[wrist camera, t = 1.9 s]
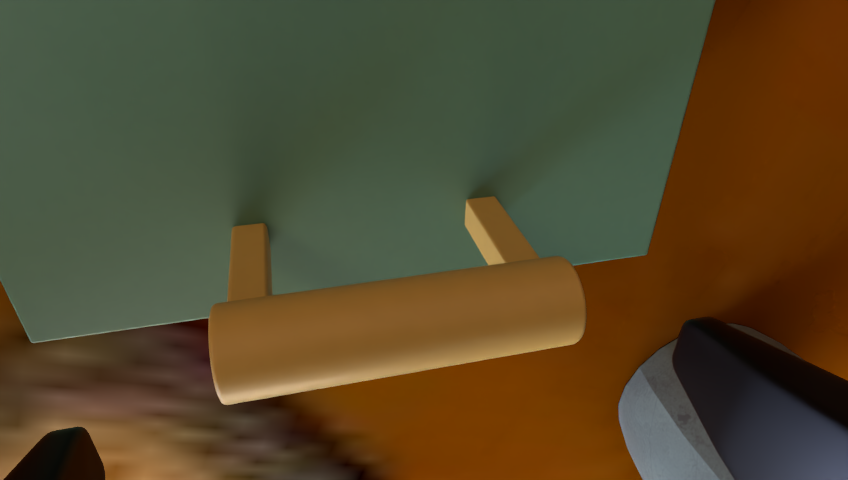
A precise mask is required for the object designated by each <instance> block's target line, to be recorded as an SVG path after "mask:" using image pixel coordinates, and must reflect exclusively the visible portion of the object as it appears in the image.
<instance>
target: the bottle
mask: <svg viewBox="0 0 848 480" xmlns="http://www.w3.org/2000/svg"><path fill="white" fill-rule="evenodd" d="M728 325H730V326H732V327H734V328H736V329H738V330H740V331H742V332H745V333H747V334H749V335H751V336H753V337H755V338H757V339H760V340H762V341H764V342H766V343H768V344H770V345H772V346H774V347H777V348H779V349H781V350H783V351H785V352H787V353H789V354H791V355H794V356H796V357H798V358H800V357H799V356H798V355H796V354H795V353H793V352H792V351H791V350H789V349H788V348H787V347H785V346H784V345H782V344H781V343H779V342H777V341H776V340H774V339H772V338H770V337H768V336H766V335H764V334H762V333H760V332H758V331H756V330H754V329H752V328H750V327H746V326H742V325H737V324H733V323H731V324H728ZM677 340H678V338H677V339H676V340H674V341H672V342H671V343H669V344H667V345H666V346H664V347H662V348H661V349H659V350H658V351H657V352H656V353H655V354H654V355H652V356H651V357H650V358H649V359H648V360H647V361H646V362H645V363H643V364H642V365H641V366H640V367H639V368H638V370H637V371H636V372H635V374H634V375H633V376H632V378H631V379H630V381H629V382H628V383H627V385H626V386H625V388H624V391H623V394H622V396H621V399H620V402H619V405H618V409H619V422H620V425H621V429H622V432H623V435H624V439H625V442H626V445H627V448H628V451H629V453H630V455H631V457H632V459H633V461H634V463H635V465H636V467H637V469H638V471H639V473H640V475H641V477H642V479H643V480H735V479H734V478H733V476H732V475H731V473H730V472H729V470H728V469H727V467H726V466H725V464H724V462H723V461H722V459H721V457H720V456H719V454H718V453H717V451H716V449H715V447H714V445H713V444H712V442H711V440H710V438H709V436H708V434H707V432H706V431H705V429H704V427H703V425H702V423H701V421H700V419H699V417H698V415H697V413H696V411H695V409H694V408H693V406H692V404H691V402H690V400H689V398H688V396H687V394H686V392H685V390H684V388H683V386H682V385H681V383H680V381H679V379H678V377H677V375H676V373H675V371H674V368H673V365H672V355H673V352H674V349H675V346H676V343H677ZM800 359H802V358H800ZM802 360H803V359H802ZM804 361H805V360H804Z"/></svg>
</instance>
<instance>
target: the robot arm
mask: <svg viewBox="0 0 848 480" xmlns="http://www.w3.org/2000/svg"><path fill="white" fill-rule="evenodd" d="M672 365H673V368H674V371H675V373H676V375H677V377H678V379H679V381H680V383H681V385H682V386H683V388H684V390H685V392H686V394H687V396H688V398H689V400H690V402H691V404H692V406H693V408H694V409H695V411H696V413H697V415H698V417H699V419H700V421H701V423H702V425H703V427H704V429H705V431H706V432H707V434H708V436H709V438H710V440H711V442H712V444H713V445H714V447H715V449H716V451H717V453H718V454H719V456H720V457H721V459H722V461H723V462H724V464H725V466H726V467H727V469H728V470H729V472H730V473H731V475H732V476H733V478H734V479H735V480H848V381H847V380H845V379H843V378H840V377H838V376H836V375H834V374H832V373H830V372H828V371H826V370H823V369H821V368H819V367H817V366H815V365H813V364H811V363H809V362H806V361H804V360H802V359H800V358H798V357H796V356H794V355H791V354H789V353H787V352H785V351H783V350H781V349H779V348H777V347H774V346H772V345H770V344H768V343H766V342H764V341H762V340H760V339H757V338H755V337H753V336H751V335H749V334H747V333H745V332H742V331H740V330H738V329H736V328H734V327H732V326H730V325H728V324H725V323H723V322H721V321H719V320H717V319H715V318H712V317H702V318H696V319H691V320H688V321H686V322H685V323H684V324H683V326H682V328H681V331H680V334H679V337H678V340H677V343H676V346H675V349H674V352H673V355H672ZM4 480H105V470H104V466H103V463H102V461H101V459H100V456H99V454H98V452H97V450H96V448H95V446H94V444H93V442H92V439H91V437H90V435H89V433H88V432H87V430H86V429H85V428H83V427H74V428H68V429H62V430H56V431H52V432H50V433H48V434H46V435H45V436H44V437H43V438H42V439H41V440H40V441H39V442H38V443H37V444H36V445H35V446H34V447H33V448H32V449H31V450H30V452H29V453H28V454H27V455H26V456H25V457H24V458H23V459H22V460H21V461H20V462H19V463H18V464H17V466H16V467H15V468H14V469H13V470H12V471H11V472H10V473H9V474H8V475H7V476H6V477H5V478H4Z"/></svg>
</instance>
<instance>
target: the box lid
mask: <svg viewBox="0 0 848 480" xmlns="http://www.w3.org/2000/svg"><path fill="white" fill-rule="evenodd" d="M714 4H715V0H0V281H1V283H2V285H3V287H4V289H5V291H6V293H7V295H8V297H9V299H10V301H11V303H12V305H13V307H14V309H15V311H16V313H17V315H18V317H19V319H20V321H21V323H22V325H23V327H24V329H25V331H26V334H27V336H28V338H29V340H30V342H32V343H38V342H45V341H52V340H59V339H66V338H73V337H80V336H86V335H93V334H100V333H107V332H114V331H121V330H128V329H135V328H142V327H149V326H156V325H163V324H170V323H177V322H184V321H191V320H198V319H205V318H209V326H208V337H209V353H210V362H211V369H212V375H213V380H214V385H215V389H216V392H217V395H218V397H219V399H220V401H221V403H222V404H225V405H230V404H235V403H241V402H247V401H253V400H258V399H264V398H270V397H275V396H281V395H287V394H292V393H298V392H304V391H310V390H315V389H321V388H327V387H332V386H338V385H344V384H350V383H355V382H361V381H367V380H372V379H378V378H384V377H389V376H395V375H401V374H407V373H412V372H418V371H424V370H429V369H435V368H441V367H447V366H452V365H458V364H464V363H469V362H475V361H481V360H487V359H492V358H498V357H504V356H509V355H515V354H521V353H526V352H532V351H538V350H544V349H549V348H555V347H561V346H566V345H572V344H575V343H576V342H578V341H579V340H580V339H581V338H582V336H583V334H584V331H585V327H586V318H587V311H586V301H585V295H584V291H583V287H582V284H581V281H580V279H579V276H578V274H577V272H576V270H575V269H574V267H573V265H580V264H586V263H593V262H600V261H607V260H614V259H621V258H628V257H635V256H642V255H646V254H647V253H648V249H649V245H650V242H651V238H652V234H653V231H654V227H655V223H656V219H657V216H658V212H659V208H660V205H661V201H662V197H663V193H664V190H665V186H666V182H667V179H668V175H669V171H670V167H671V164H672V160H673V156H674V153H675V149H676V145H677V141H678V138H679V134H680V130H681V127H682V123H683V119H684V115H685V112H686V108H687V104H688V100H689V97H690V93H691V89H692V86H693V82H694V78H695V74H696V71H697V67H698V63H699V60H700V56H701V52H702V48H703V45H704V41H705V37H706V34H707V30H708V26H709V22H710V19H711V15H712V11H713V8H714Z"/></svg>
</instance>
